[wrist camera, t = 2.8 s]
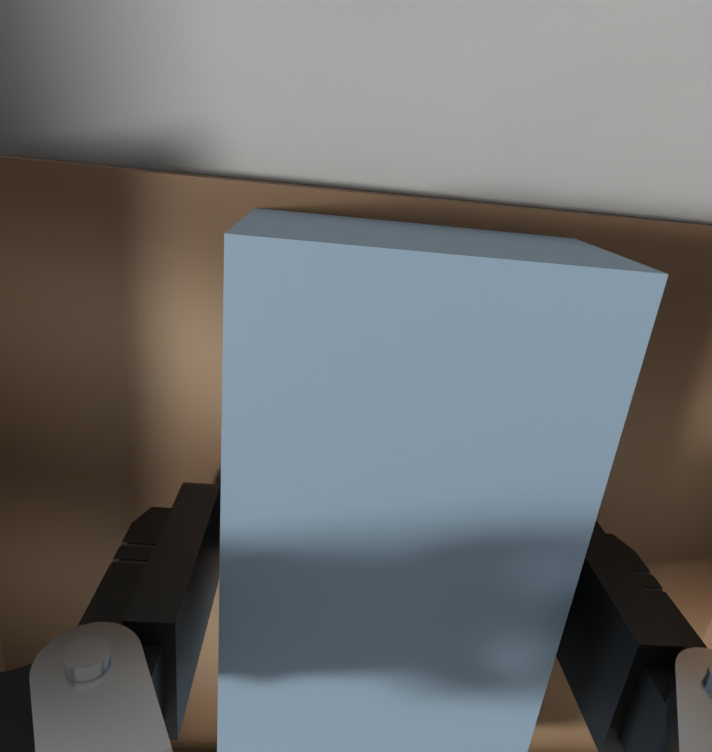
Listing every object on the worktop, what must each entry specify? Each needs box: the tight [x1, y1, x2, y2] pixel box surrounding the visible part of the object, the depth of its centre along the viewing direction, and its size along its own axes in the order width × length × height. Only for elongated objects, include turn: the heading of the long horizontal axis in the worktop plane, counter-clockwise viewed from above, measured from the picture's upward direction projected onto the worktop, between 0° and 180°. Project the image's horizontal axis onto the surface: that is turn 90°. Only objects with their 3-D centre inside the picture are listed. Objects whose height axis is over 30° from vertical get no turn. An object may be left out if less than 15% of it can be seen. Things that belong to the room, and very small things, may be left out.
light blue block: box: [217, 208, 669, 752], centre depth 11 cm, size 12×6×3 cm, turn 174°
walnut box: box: [0, 155, 712, 752], centre depth 11 cm, size 14×17×4 cm
